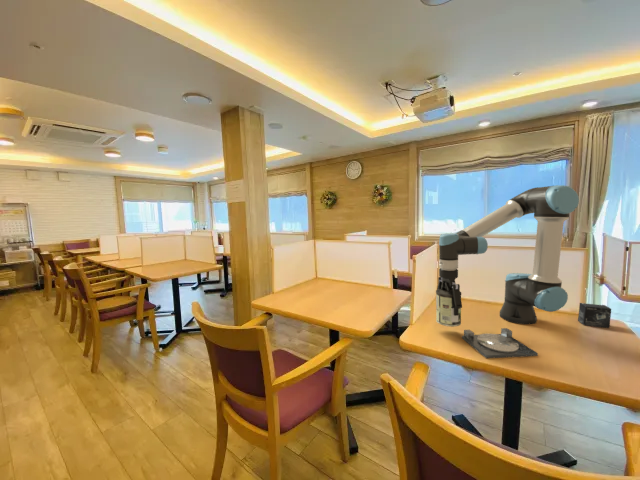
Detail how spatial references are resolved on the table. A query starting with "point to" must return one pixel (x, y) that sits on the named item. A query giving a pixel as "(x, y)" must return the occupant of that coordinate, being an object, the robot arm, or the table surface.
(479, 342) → the flange plate
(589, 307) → the box
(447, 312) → the coffee can
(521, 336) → the table surface
